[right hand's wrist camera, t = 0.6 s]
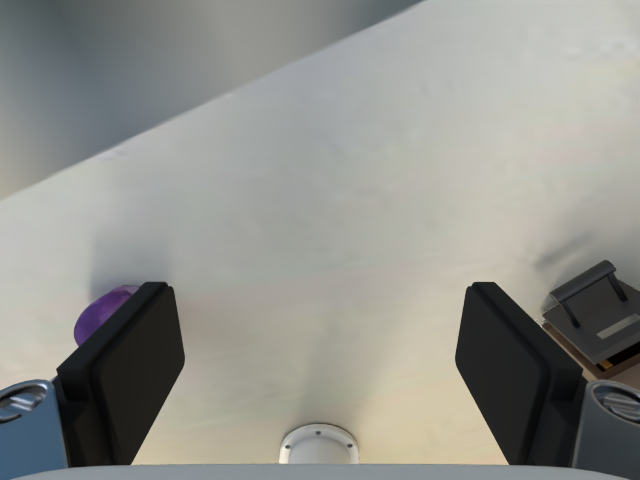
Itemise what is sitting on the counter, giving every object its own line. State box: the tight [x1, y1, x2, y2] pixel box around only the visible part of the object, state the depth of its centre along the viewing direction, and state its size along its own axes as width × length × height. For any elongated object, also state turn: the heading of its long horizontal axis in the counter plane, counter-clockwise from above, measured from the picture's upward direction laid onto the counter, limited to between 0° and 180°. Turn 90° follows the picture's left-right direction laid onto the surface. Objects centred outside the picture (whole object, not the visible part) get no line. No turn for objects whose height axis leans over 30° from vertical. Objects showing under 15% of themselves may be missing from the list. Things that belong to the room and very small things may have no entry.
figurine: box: [49, 286, 140, 382], centre depth 39 cm, size 9×10×15 cm
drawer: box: [543, 260, 640, 372], centre depth 42 cm, size 25×9×9 cm, turn 39°
